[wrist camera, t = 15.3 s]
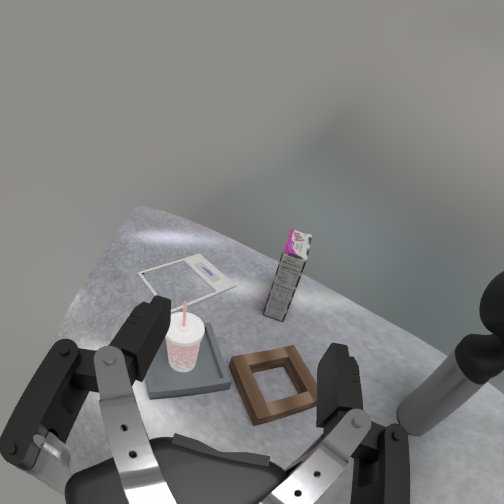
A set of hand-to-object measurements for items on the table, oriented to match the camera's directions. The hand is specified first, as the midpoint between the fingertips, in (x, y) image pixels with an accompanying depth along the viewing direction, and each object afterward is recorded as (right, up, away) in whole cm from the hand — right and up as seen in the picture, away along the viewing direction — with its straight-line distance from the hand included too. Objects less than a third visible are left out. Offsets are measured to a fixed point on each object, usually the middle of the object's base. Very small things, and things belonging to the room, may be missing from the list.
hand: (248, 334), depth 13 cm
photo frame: (-15, -3, +49) cm, 51 cm away
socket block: (+4, -19, +29) cm, 35 cm away
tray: (-12, -15, +30) cm, 35 cm away
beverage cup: (-11, -14, +29) cm, 35 cm away
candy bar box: (+6, -8, +49) cm, 50 cm away
